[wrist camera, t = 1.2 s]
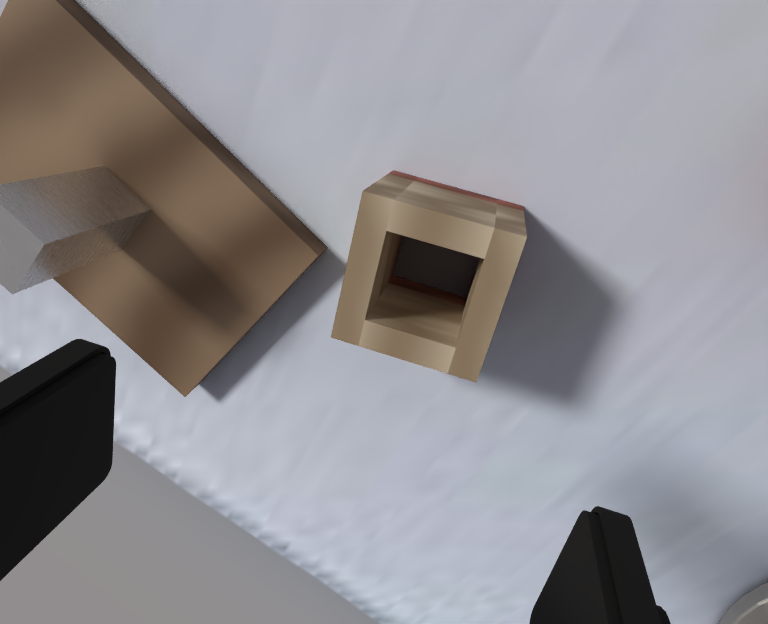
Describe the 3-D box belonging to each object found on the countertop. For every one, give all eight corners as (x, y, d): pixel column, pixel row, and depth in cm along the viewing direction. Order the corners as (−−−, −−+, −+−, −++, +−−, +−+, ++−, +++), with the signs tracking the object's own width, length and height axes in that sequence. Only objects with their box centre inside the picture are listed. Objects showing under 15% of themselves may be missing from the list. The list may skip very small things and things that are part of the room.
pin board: (327, 247, 28) (318, 255, 27) (198, 384, 33) (185, 397, 31) (48, -25, 26) (23, -32, 25) (-46, 163, 31) (-72, 166, 29)
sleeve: (523, 206, 25) (527, 237, 20) (482, 325, 28) (476, 382, 22) (393, 170, 26) (362, 191, 21) (365, 290, 29) (330, 337, 23)
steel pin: (151, 209, 28) (44, 244, 21) (122, 249, 29) (12, 294, 22) (105, 165, 27) (-18, 187, 21) (77, 208, 29) (-48, 241, 22)
